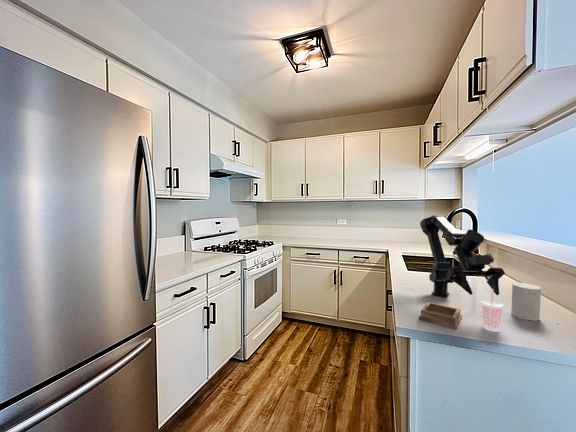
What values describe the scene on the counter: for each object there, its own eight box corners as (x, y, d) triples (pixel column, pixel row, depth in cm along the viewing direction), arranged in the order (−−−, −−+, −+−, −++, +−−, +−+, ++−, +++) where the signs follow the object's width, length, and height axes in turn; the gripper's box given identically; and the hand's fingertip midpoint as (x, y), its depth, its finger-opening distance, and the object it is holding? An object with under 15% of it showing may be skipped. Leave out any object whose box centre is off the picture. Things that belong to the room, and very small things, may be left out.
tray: (427, 309, 108) (427, 301, 108) (461, 318, 100) (462, 309, 100) (418, 319, 99) (418, 310, 99) (456, 329, 91) (456, 319, 91)
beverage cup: (504, 328, 92) (505, 289, 91) (500, 334, 88) (501, 293, 87) (482, 322, 96) (484, 285, 95) (478, 328, 92) (479, 288, 91)
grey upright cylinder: (529, 322, 97) (531, 290, 96) (505, 313, 104) (507, 283, 104) (545, 319, 99) (546, 288, 98) (520, 311, 107) (522, 281, 106)
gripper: (451, 245, 100) (468, 283, 90) (502, 246, 99) (525, 284, 89) (439, 261, 109) (454, 297, 98) (487, 262, 107) (506, 298, 97)
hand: (484, 294), depth 95 cm, fingers open, 9 cm apart
